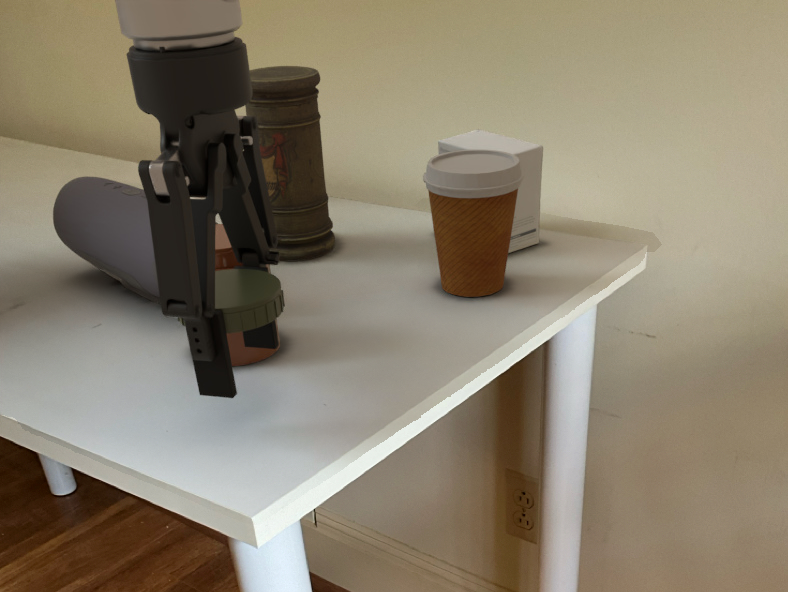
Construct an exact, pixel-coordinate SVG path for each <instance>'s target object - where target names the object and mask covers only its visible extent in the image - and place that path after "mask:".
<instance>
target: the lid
mask: <svg viewBox="0 0 788 592" xmlns="http://www.w3.org/2000/svg"><path fill="white" fill-rule="evenodd" d="M284 295H285V294H284V290H283V289H282V283H281V280H280V278H279V277H278V276H276V275H275V274H274V273H272V272H271V273H268V272H265V271H260V270H253V269H228V270H220V271H215V310H219V311H223V317H224V322H225V328H226V333H236V332H242V331H247V330H251V329H255V328H258V327H261V326H264V325H266V324H268V323H270V322H272V321H274V320H275V319H277V320H278V318H279V317H280V316H281V315H283V313H284V309H285V307H286V303H285V296H284ZM177 321H178V322H179V323H180V324H181V326H183V327H184V328H186V326H185V322H184V320H183V318H177Z"/></svg>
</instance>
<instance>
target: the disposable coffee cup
mask: <svg viewBox="0 0 788 592" xmlns="http://www.w3.org/2000/svg"><path fill="white" fill-rule="evenodd" d="M523 178H524V172H523V171H522V170H521V168H520V162H519V158H518V157H517V156H515V155H513V154H510V153H507V152H502V151H496V150H460V151H452V152H447V153H443V154H439V153H438V154H436V155H433V156H432V157H430V158H429V160H428V161H427V163H426V169H425V172H424V173H423V175H422V180H423V182H424V184H425V188H426V190H427V191H428V199H429V206H430V213H431V220H432V226H433V235H434V240H435V241H434V242H435V248H436V256H437V263H438V269H439V276H440V284H441V289H442V290H443V291H445V292H446V293H447V294H451V295H454V296H458V297H466V298H467V297H468V298H469V297H471V298H473V297H484V296H490V295H493V294H495V293H497V292H499V291H501V290H502V289H503V287H504V285H505V276H506V269H507V266H508V265H507V264H508V258H509V253H508V252H509V245H510V239H511V232H512V226H513V219H514V213H515V206H516V200H517V193H518V188H519V187H520V185H521V181H522V180H523Z"/></svg>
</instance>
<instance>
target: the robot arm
mask: <svg viewBox="0 0 788 592" xmlns="http://www.w3.org/2000/svg"><path fill="white" fill-rule="evenodd" d="M114 2H115V9H116V14H117V19H118V23H119V28H120V29H119V30H120V33H121V35H123V36H124V37H125V38H127V39H128V40H132V44H133V45H131V46H130V47H128V52H127V53H126V58H127V64H128V69H129V73H130V78H131V85H132V88H133V93H134V98H135V103H136V105H137V107H138V109H139V110H140V111H142V112H143V113H145V114H146V115H151V116H153V117H154V118H155V119H156V120H157V121H158V123H159V132H160V133H159V137H160V138H159V148H160V149H159V150H160V155H158V156H157V158H156V159H154V160H152V159H151V160H150V159H141V160H140V161H139V162H138V166H137V171H138V176H139V179H140V183H141V185H142V186H141V187H142V189H143V190H144V192H145V195H146V198H147V203H148V211H149V218H150V226H151V234H152V242H153V249H154V257H155V265H156V273H157V280H158V288H159V296H160V303H161V304H160V310H161V314H162V316H163V317H165V318H175V319H176V318H177V319H178V318H183V320H184V322H185V326H186V327H185V330H186V336H187V340H188V345H189V350H190V355H191V359H192V364H193V370H194V374H195V379H196V383H197V384H196V385H197V389H198V393H199V396H205V397H214V398H215V397H216V398H226V399H227V398H228V399H234V398H235V397H236V396H237V394H238V390H237V386H236V381H235V375H234V368H233V366H232V362H231V357H230V351H229V345H228V340H227V334H226V328H225V322H224V317H223V311H219V310H215V225H216V222H217V220H216V217H217V215H218V217H219V219H220V222H221V224H223V227H224V229H225V232H226V234H227V237H228V239H229V242H230V244H231V247H232V249H233V252H234V255H235V257H236V260H237V262H238V263H243V266H235V267H234V268H233V269H253V270H260V271H265V272H268V273H269V271H268V268H267V267H266V264H267V265H270V266H278V264H279V263H280V260H279V258H280V256H279V251H270V250H269V249H270V248H276V247H277V245H278V238H277V232H276V227H275V222H274V217H273V212H272V207H271V203H270V198H269V193H268V188H267V183H266V178H265V173H264V168H263V163H262V158H261V153H260V144H259V128H258V120H257V118H256V116H246V115H237V113H236V110H238V109H241V108H243V107H245V105H246V104H248V103H249V101H250V100H251V98H252V93H253V92H252V85H251V77H250V70H251V69H250V63H249V57H248V56H249V55H248V49H247V44H246V43H245V42H243V39H242V38H240V37H238V36H235V32H236V31H238V30H239V29H240V28H241V27H242V25H243V18H242V10H241V9H242V8H241V0H114ZM190 197H197V198H205V199H190ZM262 228H263V229H264V232H263V230H262ZM242 332H243V339H244V345H245V347H254V348H267V349H276V348H277V347H278V346H279V343H278V336H277V329H276V322H275V320H274V321H272V322H270V323H268V324H266V325H264V326H261V327H258V328H255V329H251V330H247V331H242Z"/></svg>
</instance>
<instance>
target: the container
mask: <svg viewBox="0 0 788 592" xmlns="http://www.w3.org/2000/svg"><path fill="white" fill-rule="evenodd" d="M249 70H250V77H251V85H252V92H253V93H252V98H251V100H250V101H249V103H248V104H246V105H245V106H244V107H245V114H246V115H245V116H256V118H257V120H258V128H259V144H260V153H261V158H262V163H263V168H264V173H265V178H266V183H267V188H268V193H269V198H270V203H271V207H272V212H273V217H274V222H275V227H276V232H277V238H278V245H277V247H276V248H270V249H269V250H270V251H279V256H280V258H279V261H282V262H295V261H297V262H298V261H305V260H311V259H316V258H320V257H322V256H324V255H326V254H328V253H330V252H331V251H332V250H333V249H334V248H335V245H336V235H335V233H334V232H333V230H332V229H333V228H334V223H333V221H332V219H331V217H330V209H329V196H328V193H327V187H326V178H325V167H324V166H325V165H324V154H323V143H322V132H321V119H322V118H321V113H320V111H319V101H318V98H319V93H320V90H319V89H318V88H317V86H318V85H319V84H320V82H321V74H320V71H318V69H316V68H314V67H309V66H301V65H277V66H276V65H275V66H266V67H258V68H253V69H249ZM262 230H263V232H264V229H263V228H262Z"/></svg>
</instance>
